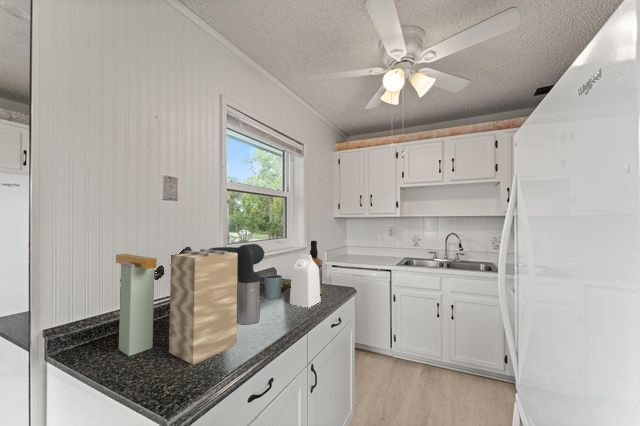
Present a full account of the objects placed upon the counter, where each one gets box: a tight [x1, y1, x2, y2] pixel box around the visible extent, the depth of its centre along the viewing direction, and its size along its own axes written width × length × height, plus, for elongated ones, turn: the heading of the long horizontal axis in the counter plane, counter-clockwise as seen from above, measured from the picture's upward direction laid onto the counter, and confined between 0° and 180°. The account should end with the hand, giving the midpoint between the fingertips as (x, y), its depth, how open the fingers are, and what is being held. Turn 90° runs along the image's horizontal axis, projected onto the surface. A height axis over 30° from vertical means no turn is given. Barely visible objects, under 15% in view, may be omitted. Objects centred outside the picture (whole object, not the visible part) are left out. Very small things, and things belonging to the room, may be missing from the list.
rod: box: [115, 253, 158, 269], centre depth 94 cm, size 24×3×3 cm, turn 56°
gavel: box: [281, 280, 291, 293], centre depth 171 cm, size 21×5×10 cm
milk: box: [289, 253, 322, 309], centre depth 144 cm, size 12×12×26 cm
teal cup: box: [263, 274, 283, 300], centre depth 155 cm, size 10×10×12 cm
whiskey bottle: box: [309, 240, 324, 294], centre depth 163 cm, size 10×10×32 cm
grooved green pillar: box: [118, 263, 155, 357], centre depth 92 cm, size 8×7×29 cm
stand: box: [168, 248, 238, 365], centre depth 92 cm, size 14×16×33 cm
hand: (150, 269), depth 105 cm, fingers open, 8 cm apart
